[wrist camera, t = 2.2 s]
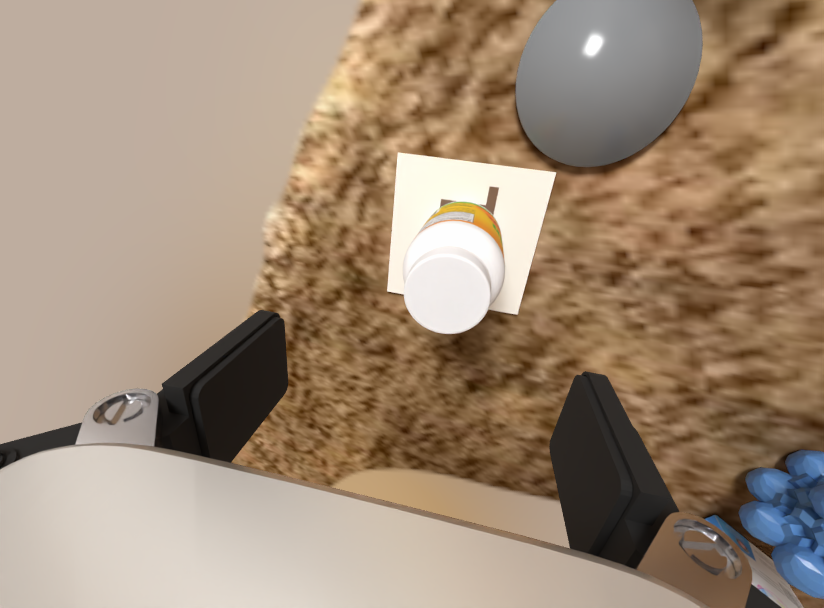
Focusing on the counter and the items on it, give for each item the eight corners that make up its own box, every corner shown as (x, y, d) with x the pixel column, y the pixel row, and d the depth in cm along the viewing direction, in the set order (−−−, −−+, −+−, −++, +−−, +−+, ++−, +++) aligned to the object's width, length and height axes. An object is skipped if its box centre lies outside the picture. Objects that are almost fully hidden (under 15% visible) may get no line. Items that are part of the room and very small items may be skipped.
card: (398, 152, 23) (397, 152, 23) (555, 172, 22) (556, 172, 21) (388, 290, 27) (387, 291, 27) (517, 313, 26) (517, 314, 26)
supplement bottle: (502, 273, 25) (509, 347, 16) (428, 277, 26) (398, 348, 18) (500, 194, 23) (506, 232, 14) (418, 204, 24) (378, 244, 15)
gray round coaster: (538, -35, 18) (539, -39, 17) (732, -25, 17) (739, -29, 16) (500, 156, 22) (500, 157, 21) (653, 175, 21) (657, 176, 20)
